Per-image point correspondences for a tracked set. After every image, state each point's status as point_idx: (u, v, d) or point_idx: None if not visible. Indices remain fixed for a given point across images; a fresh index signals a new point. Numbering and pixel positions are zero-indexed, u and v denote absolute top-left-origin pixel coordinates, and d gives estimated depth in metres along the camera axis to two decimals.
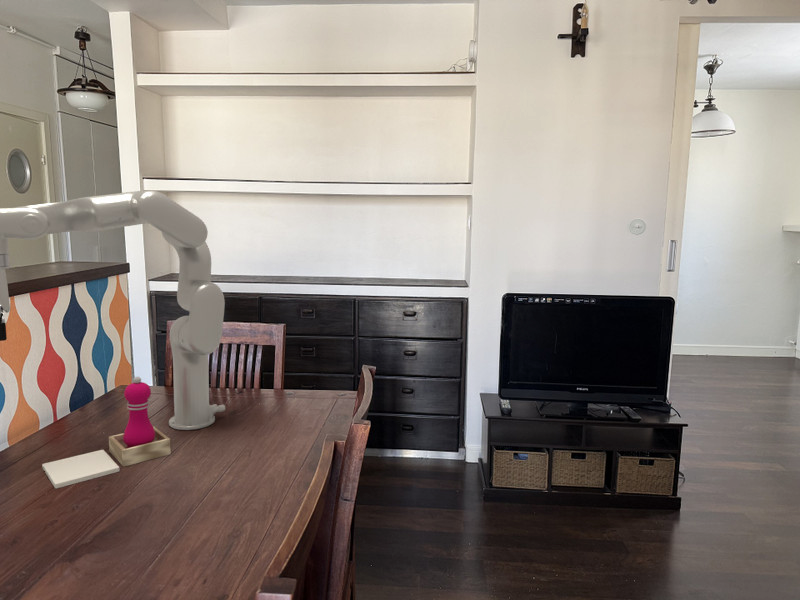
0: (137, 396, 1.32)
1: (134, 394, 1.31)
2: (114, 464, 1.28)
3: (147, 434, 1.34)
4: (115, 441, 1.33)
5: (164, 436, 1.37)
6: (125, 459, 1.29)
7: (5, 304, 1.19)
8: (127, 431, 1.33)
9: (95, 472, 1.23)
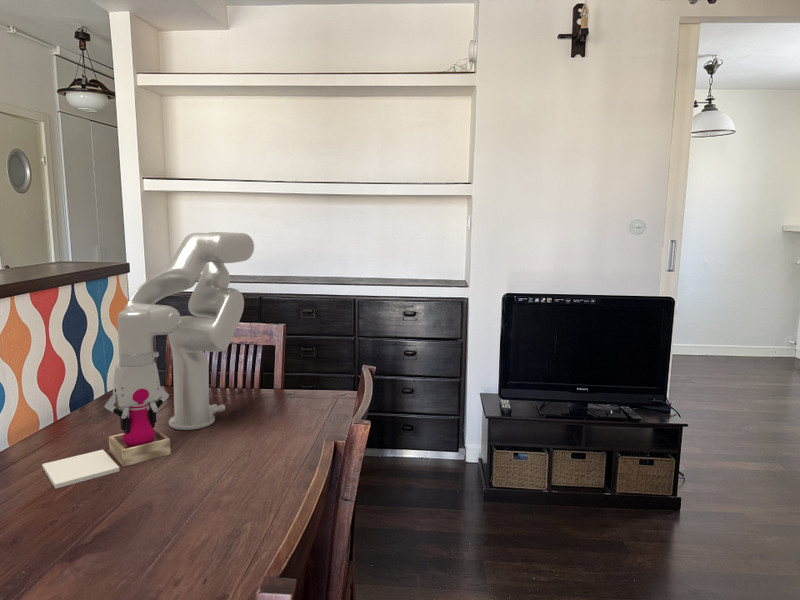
0: (137, 396, 1.32)
1: (134, 394, 1.31)
2: (114, 464, 1.28)
3: (147, 434, 1.34)
4: (115, 441, 1.33)
5: (164, 436, 1.37)
6: (125, 459, 1.29)
7: None
8: None
9: (95, 472, 1.23)
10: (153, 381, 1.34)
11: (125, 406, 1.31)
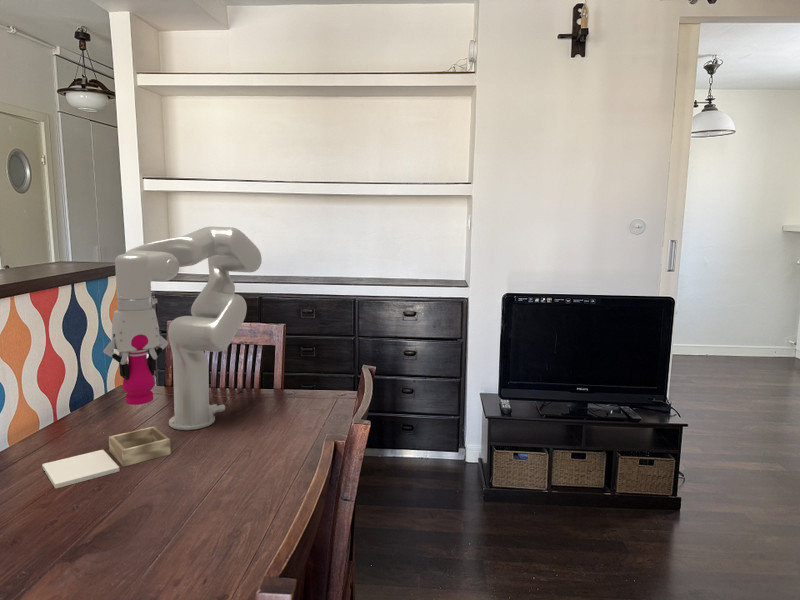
0: (136, 341, 1.30)
1: (133, 339, 1.30)
2: (114, 464, 1.28)
3: (147, 381, 1.33)
4: (115, 441, 1.33)
5: (164, 436, 1.37)
6: (125, 459, 1.29)
7: None
8: None
9: (95, 472, 1.23)
10: (152, 327, 1.33)
11: (124, 351, 1.29)
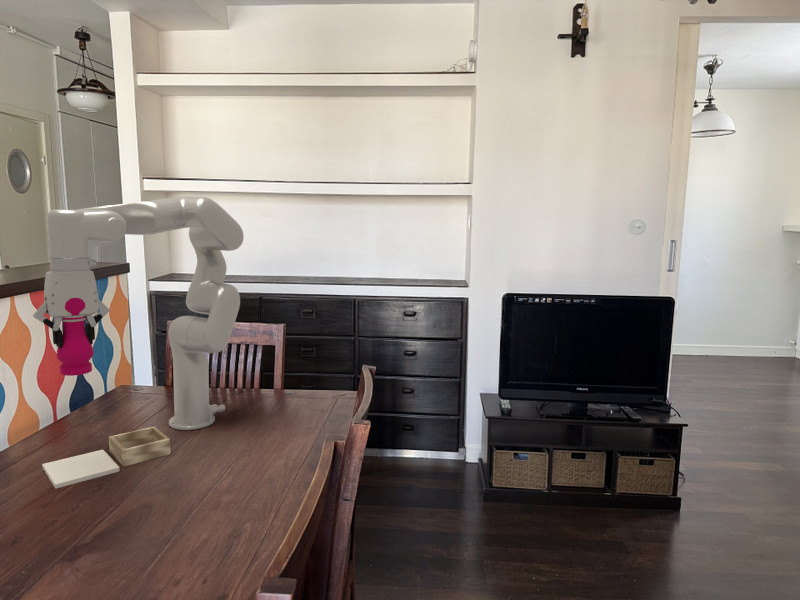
0: (70, 305, 1.18)
1: (67, 303, 1.18)
2: (114, 464, 1.28)
3: (83, 350, 1.21)
4: (115, 441, 1.33)
5: (164, 436, 1.37)
6: (125, 459, 1.29)
7: None
8: None
9: (95, 472, 1.23)
10: (90, 291, 1.21)
11: (57, 316, 1.18)
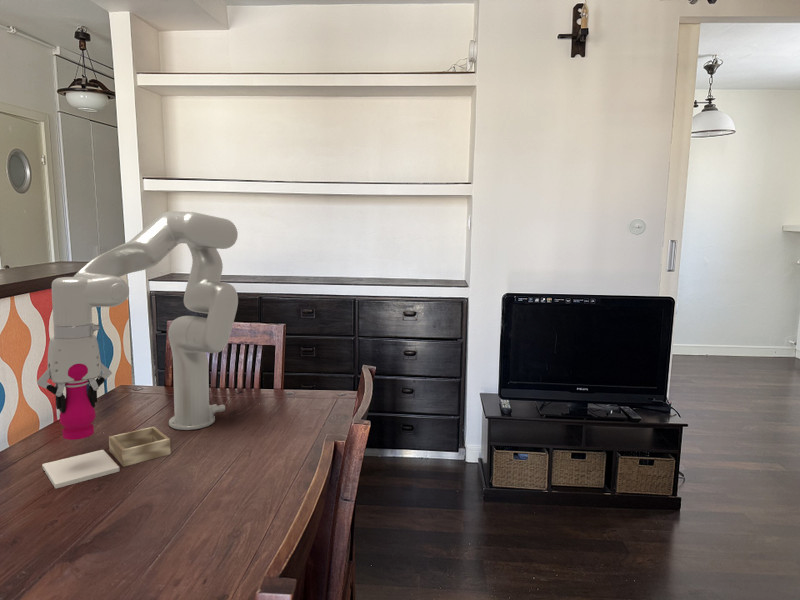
0: (73, 371, 1.20)
1: (70, 369, 1.20)
2: (114, 464, 1.28)
3: (85, 414, 1.23)
4: (115, 441, 1.33)
5: (164, 436, 1.37)
6: (125, 459, 1.29)
7: None
8: None
9: (95, 472, 1.23)
10: (92, 356, 1.23)
11: (60, 383, 1.20)
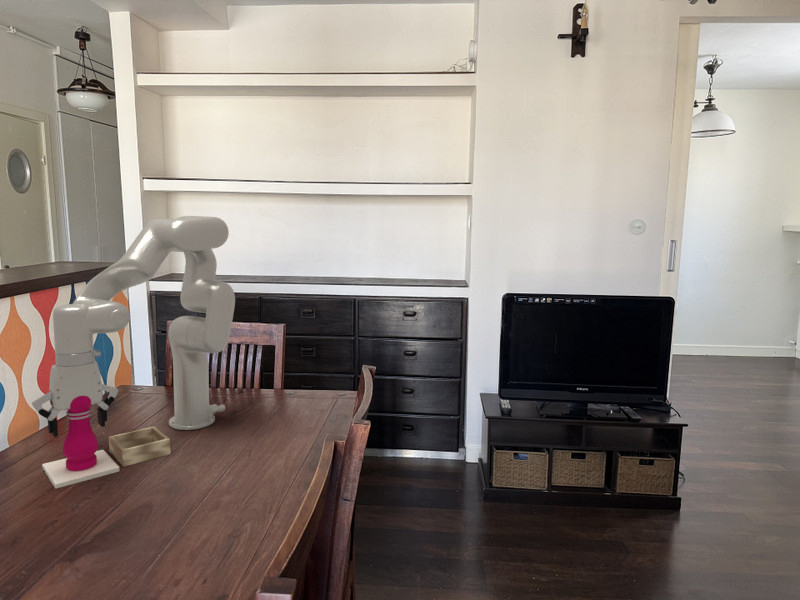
0: (76, 404, 1.22)
1: (73, 402, 1.21)
2: (114, 464, 1.28)
3: (88, 446, 1.24)
4: (115, 441, 1.33)
5: (164, 436, 1.37)
6: (125, 459, 1.29)
7: None
8: (66, 442, 1.23)
9: (95, 472, 1.23)
10: (94, 382, 1.24)
11: (62, 409, 1.21)
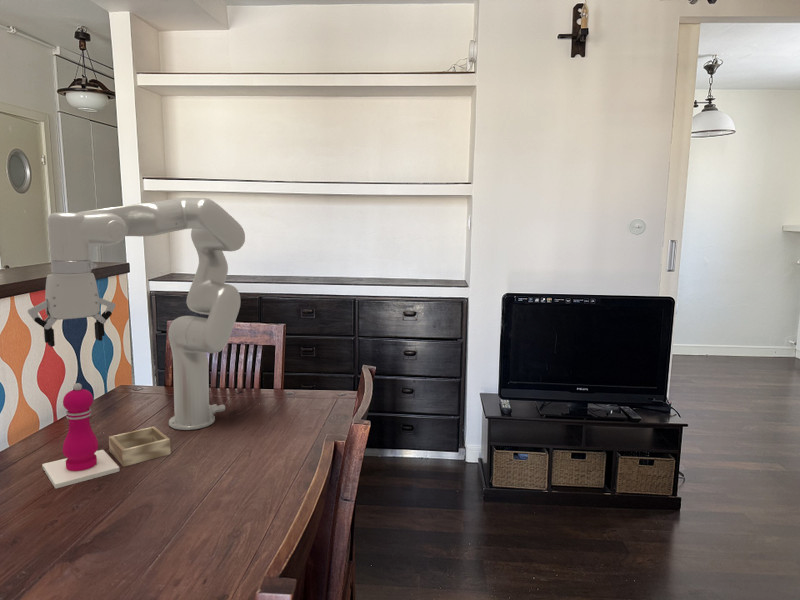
0: (76, 404, 1.22)
1: (73, 402, 1.21)
2: (114, 464, 1.28)
3: (88, 446, 1.24)
4: (115, 441, 1.33)
5: (164, 436, 1.37)
6: (125, 459, 1.29)
7: None
8: (66, 442, 1.23)
9: (95, 472, 1.23)
10: (90, 293, 1.22)
11: (58, 318, 1.19)
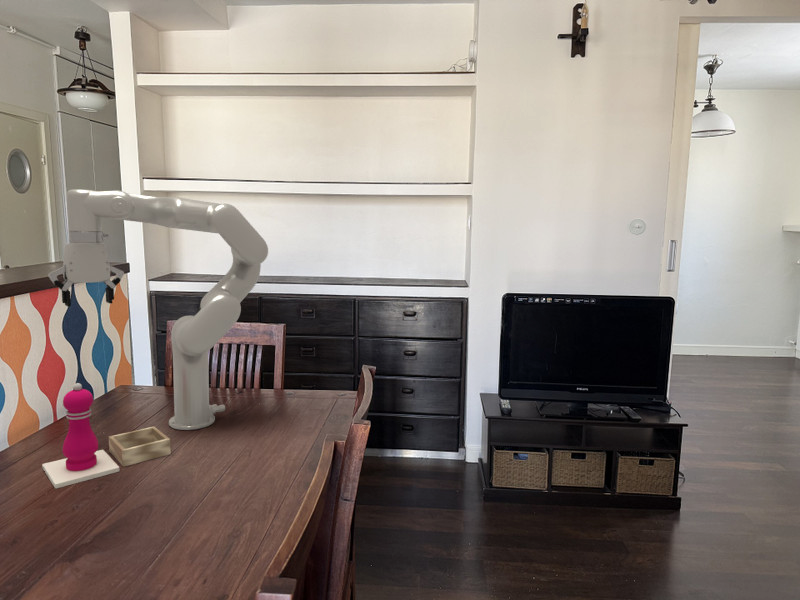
0: (76, 404, 1.22)
1: (73, 402, 1.21)
2: (114, 464, 1.28)
3: (88, 446, 1.24)
4: (115, 441, 1.33)
5: (164, 436, 1.37)
6: (125, 459, 1.29)
7: None
8: (66, 442, 1.23)
9: (95, 472, 1.23)
10: (102, 261, 1.39)
11: (74, 282, 1.36)
